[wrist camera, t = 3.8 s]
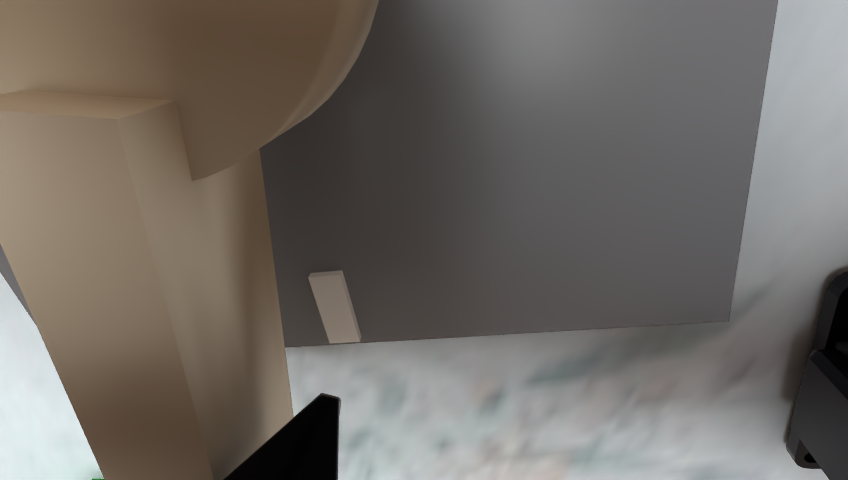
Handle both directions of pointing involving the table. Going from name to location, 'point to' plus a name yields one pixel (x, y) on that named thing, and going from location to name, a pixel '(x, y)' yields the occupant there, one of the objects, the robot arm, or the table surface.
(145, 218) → the beige long-handled part
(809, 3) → the table surface
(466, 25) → the thin gray panel
